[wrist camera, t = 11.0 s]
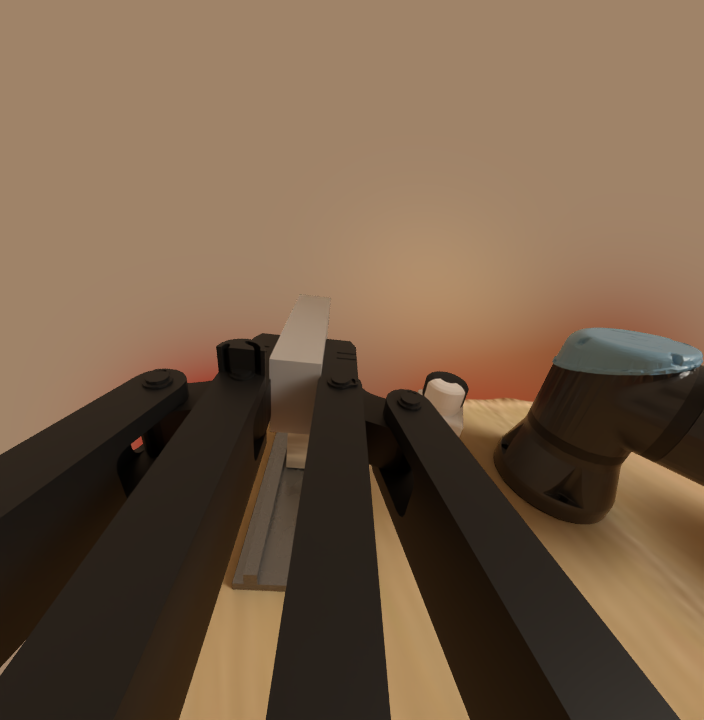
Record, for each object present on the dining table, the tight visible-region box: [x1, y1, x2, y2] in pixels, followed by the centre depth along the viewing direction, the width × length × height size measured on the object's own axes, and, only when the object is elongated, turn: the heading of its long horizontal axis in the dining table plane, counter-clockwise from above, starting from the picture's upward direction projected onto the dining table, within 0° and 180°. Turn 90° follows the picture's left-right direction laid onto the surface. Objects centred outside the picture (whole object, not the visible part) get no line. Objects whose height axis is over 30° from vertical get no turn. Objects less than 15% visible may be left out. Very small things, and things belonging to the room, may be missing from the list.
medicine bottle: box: [418, 372, 468, 437], centre depth 46 cm, size 7×7×12 cm
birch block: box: [286, 433, 309, 469], centre depth 39 cm, size 6×6×13 cm
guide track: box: [232, 432, 304, 591], centre depth 37 cm, size 22×11×2 cm, turn 1°
